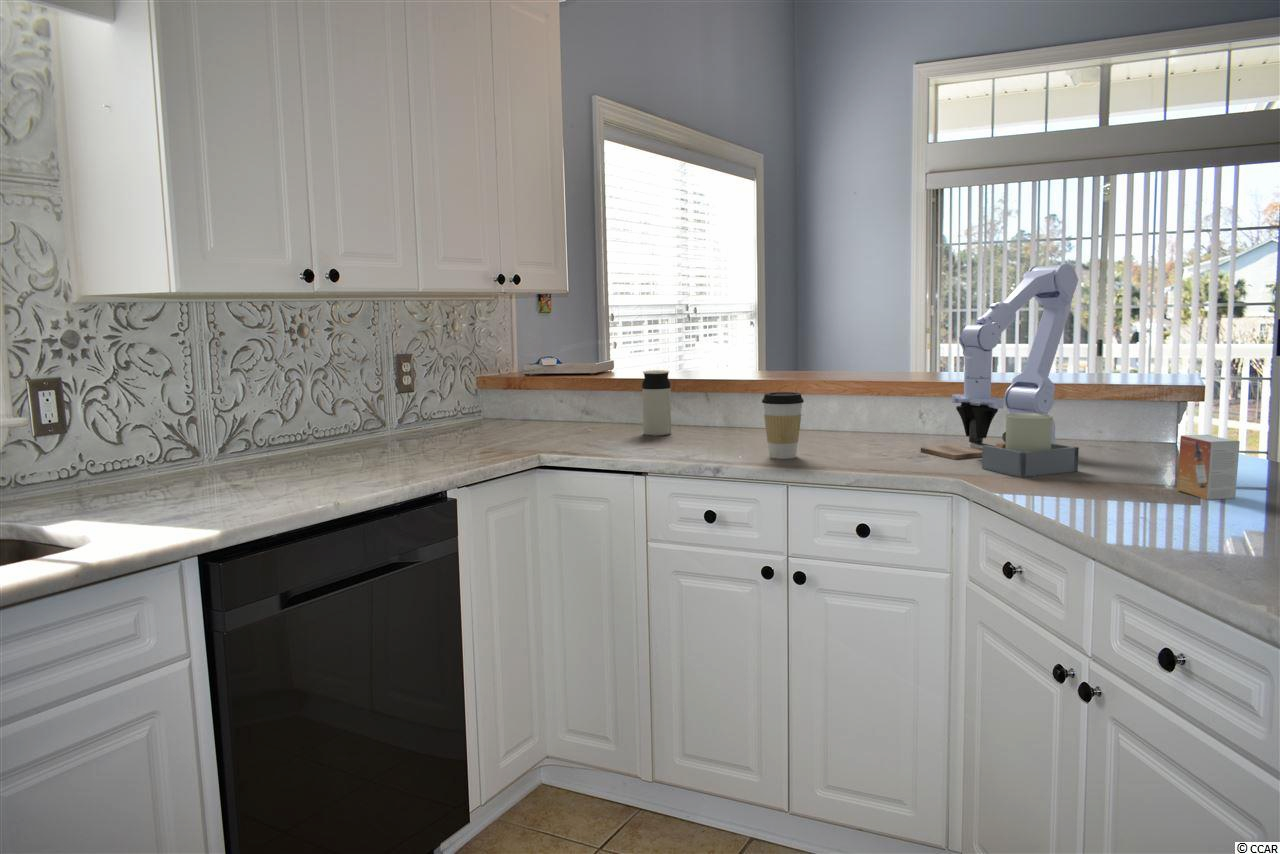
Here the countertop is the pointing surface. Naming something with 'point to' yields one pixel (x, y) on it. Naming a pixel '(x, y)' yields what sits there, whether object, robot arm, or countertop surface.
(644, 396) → the travel mug
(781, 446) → the coffee cup
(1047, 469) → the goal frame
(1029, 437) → the can
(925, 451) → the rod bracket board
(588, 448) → the countertop surface
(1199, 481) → the small box
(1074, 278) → the robot arm
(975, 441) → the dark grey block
